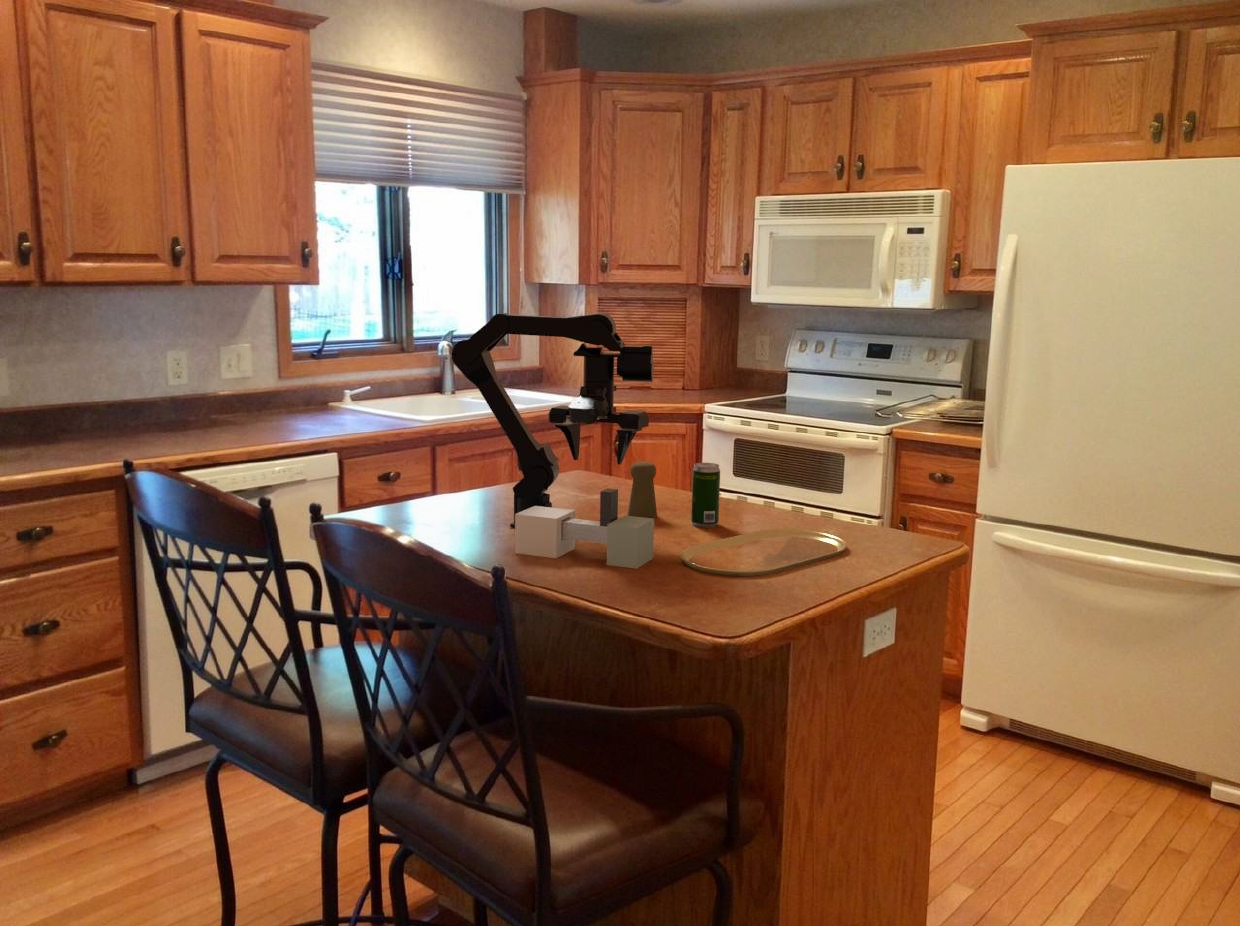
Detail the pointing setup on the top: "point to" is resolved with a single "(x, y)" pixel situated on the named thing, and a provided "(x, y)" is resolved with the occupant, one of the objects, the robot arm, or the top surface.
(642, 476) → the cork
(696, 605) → the top surface
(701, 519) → the beer can
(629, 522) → the socket block
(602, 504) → the grey bridging bar
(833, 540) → the serving platter
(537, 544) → the sleeve
